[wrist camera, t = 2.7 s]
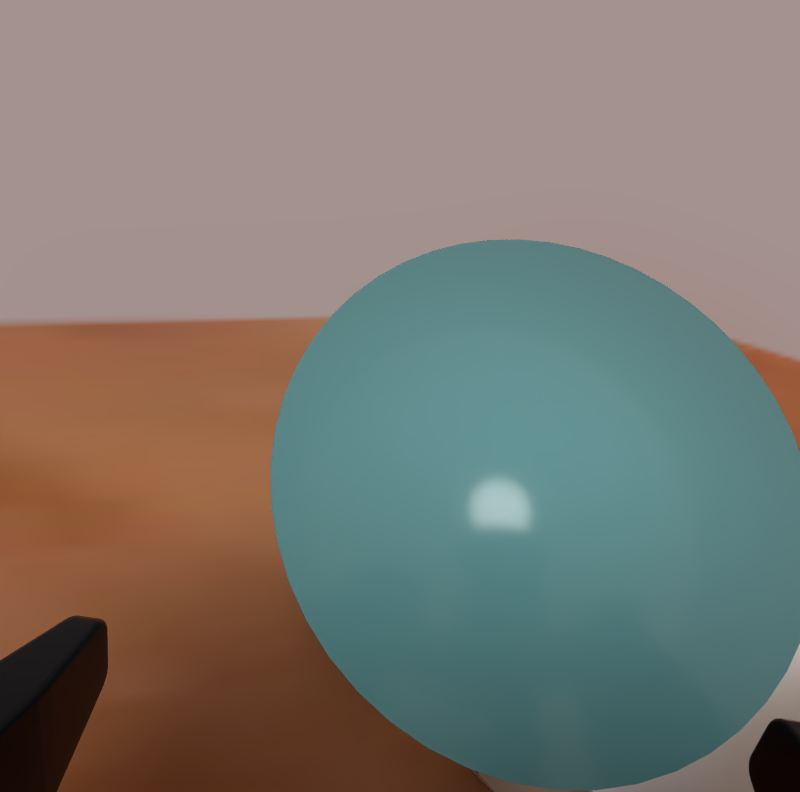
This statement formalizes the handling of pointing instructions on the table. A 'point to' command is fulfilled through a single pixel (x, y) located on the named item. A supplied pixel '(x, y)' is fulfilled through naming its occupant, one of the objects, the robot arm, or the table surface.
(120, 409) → the table surface
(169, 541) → the table surface
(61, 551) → the table surface
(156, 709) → the table surface
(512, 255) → the teal cylinder
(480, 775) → the picture frame
